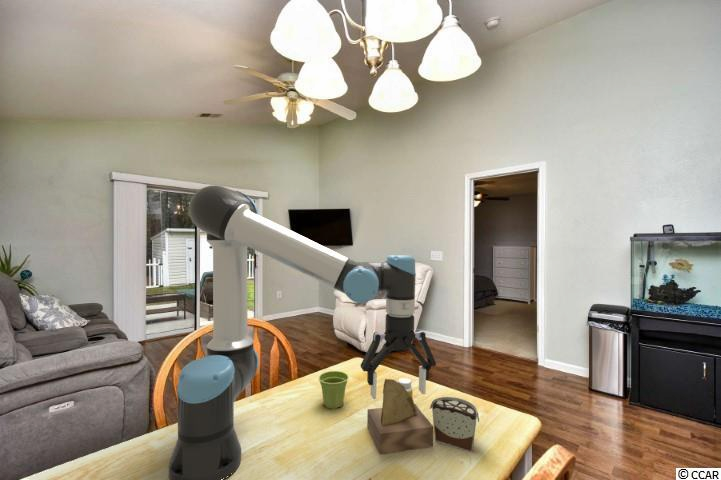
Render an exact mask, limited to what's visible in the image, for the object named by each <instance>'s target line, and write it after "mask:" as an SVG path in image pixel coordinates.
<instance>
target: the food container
mask: <svg viewBox="0 0 721 480" xmlns="http://www.w3.org/2000/svg"><path fill="white" fill-rule="evenodd" d="M429 406H430V407H429V409H430V410H431V409H432V411H431V412H432V421H433V435H434V442H438V443H440V444H444V445H446V446H450V447H453V448H456V449H458V450H459V449H460V450H462V451H466V452H468V453H471V454H472V453H473V450H474V443H475V433H476V428H477V425H476V424H477V423H479V422H480V416H479V412H478V409H477V407H476V406H475V405H474V404H473V403H471V402H470V401H468V400H466V399H463V398H459V397H453V396H442V397H441V396H440V397H437V398H435V399H432V401H431V403H430V405H429Z"/></svg>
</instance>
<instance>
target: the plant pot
mask: <svg viewBox="0 0 721 480" xmlns="http://www.w3.org/2000/svg"><path fill="white" fill-rule="evenodd" d="M349 378H350V376H349V375H348V373H346V372H344V371H340V370H331V371H324V372H323V373H320V375H319V376H318V381H319V383H320V386H321V387H320V388H321V393H322V401H323V405H324V406H325V408H327V409H338V408H339V407H343V405H344V402H345V401H344V400H345V393H346V387H347V383H348V381H349Z"/></svg>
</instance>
